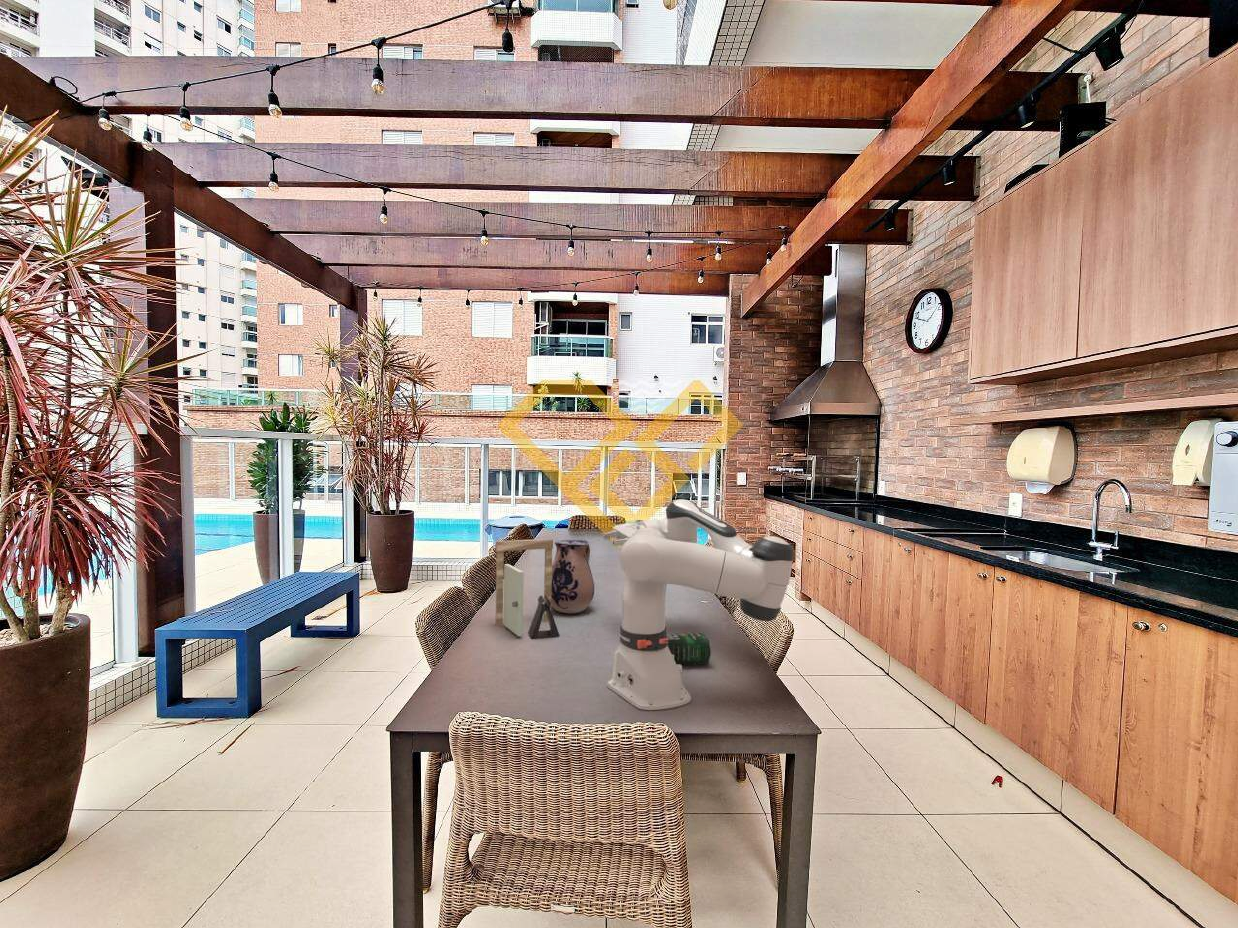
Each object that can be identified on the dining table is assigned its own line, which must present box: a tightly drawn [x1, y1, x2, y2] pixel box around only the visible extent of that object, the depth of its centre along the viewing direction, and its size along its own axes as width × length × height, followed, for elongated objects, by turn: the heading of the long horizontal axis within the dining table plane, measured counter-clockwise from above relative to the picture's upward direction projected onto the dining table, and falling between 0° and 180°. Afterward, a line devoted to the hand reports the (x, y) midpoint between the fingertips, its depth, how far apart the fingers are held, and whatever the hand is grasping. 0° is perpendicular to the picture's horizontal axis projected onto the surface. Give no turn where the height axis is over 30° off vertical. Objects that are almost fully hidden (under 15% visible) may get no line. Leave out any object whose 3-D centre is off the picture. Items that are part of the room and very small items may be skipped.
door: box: [503, 563, 525, 637], centre depth 179 cm, size 3×13×20 cm, turn 32°
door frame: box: [495, 538, 554, 627], centre depth 189 cm, size 2×19×28 cm, turn 112°
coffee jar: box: [667, 631, 712, 666], centre depth 157 cm, size 10×8×19 cm
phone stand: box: [527, 594, 561, 640], centre depth 177 cm, size 9×6×12 cm, turn 107°
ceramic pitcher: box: [551, 539, 595, 615], centre depth 206 cm, size 18×21×25 cm
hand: (608, 539), depth 181 cm, fingers open, 8 cm apart
